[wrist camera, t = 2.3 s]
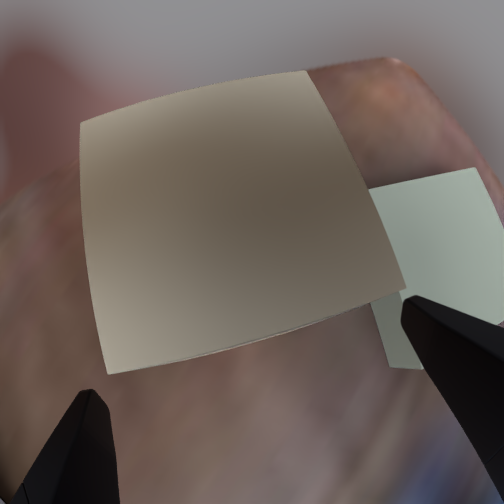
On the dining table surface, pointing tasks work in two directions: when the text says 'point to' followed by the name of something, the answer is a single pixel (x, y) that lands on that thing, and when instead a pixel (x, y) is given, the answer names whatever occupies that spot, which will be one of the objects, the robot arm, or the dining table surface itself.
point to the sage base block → (440, 252)
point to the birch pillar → (224, 221)
